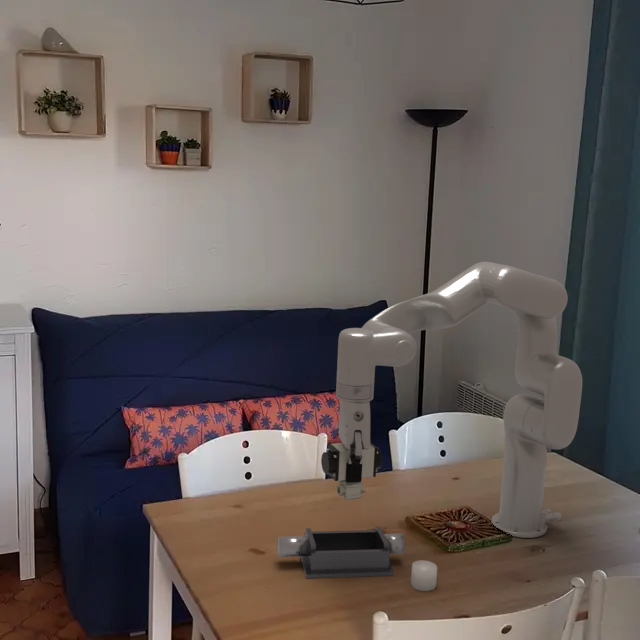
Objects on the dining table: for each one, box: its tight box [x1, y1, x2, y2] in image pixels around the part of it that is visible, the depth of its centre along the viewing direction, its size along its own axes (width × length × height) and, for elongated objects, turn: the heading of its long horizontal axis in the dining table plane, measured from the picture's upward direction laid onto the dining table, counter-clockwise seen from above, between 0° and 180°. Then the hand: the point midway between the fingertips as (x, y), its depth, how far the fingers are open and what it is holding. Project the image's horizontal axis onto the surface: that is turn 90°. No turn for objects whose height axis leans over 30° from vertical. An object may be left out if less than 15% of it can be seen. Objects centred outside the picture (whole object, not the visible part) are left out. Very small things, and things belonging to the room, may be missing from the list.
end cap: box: [410, 559, 438, 592], centre depth 166 cm, size 5×5×4 cm
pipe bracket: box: [277, 526, 406, 579], centre depth 174 cm, size 26×12×6 cm, turn 99°
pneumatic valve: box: [320, 442, 383, 501], centre depth 170 cm, size 6×12×12 cm, turn 112°
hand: (350, 475), depth 171 cm, fingers closed on pneumatic valve, 5 cm apart
